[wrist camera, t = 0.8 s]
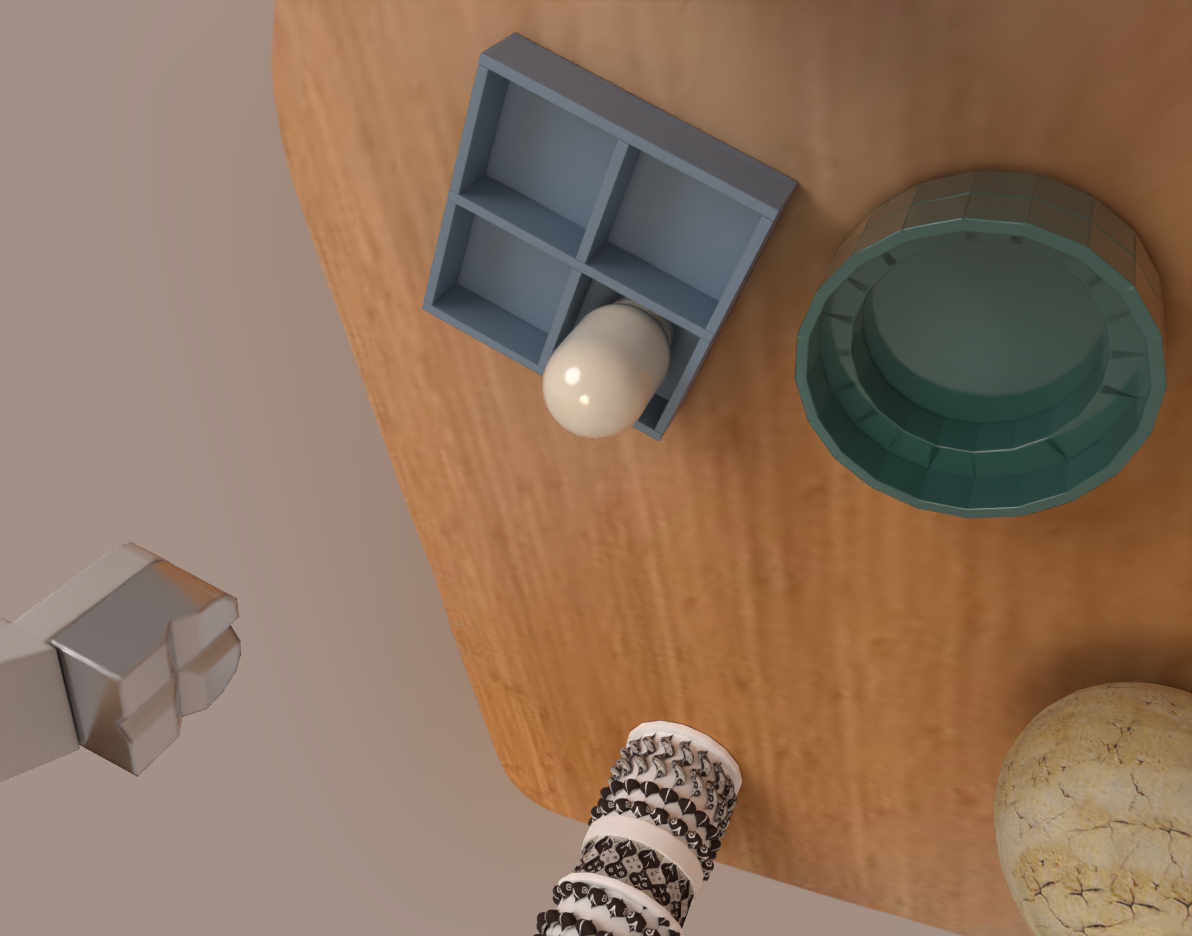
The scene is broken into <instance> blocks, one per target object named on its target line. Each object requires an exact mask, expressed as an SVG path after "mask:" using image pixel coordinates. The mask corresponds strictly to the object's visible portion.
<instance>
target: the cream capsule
mask: <svg viewBox="0 0 1192 936" xmlns="http://www.w3.org/2000/svg"><path fill="white" fill-rule="evenodd" d="M673 340H674V331H673V326H672V323H671V321H669V320H667V319H666V318H664V317H662V316H660V315H658V314H656V313H655V312H653V311H651V310H649V309H647V308H645V307H644V306H642V305H640V304H638V303H636V302H635V301H633V300H631V299H629V298H627V297H625V296H624V297H621V298H618V299H616V300H615V301H613V302H612V303H611V304H608V305H604V306H601V307H598V308H596V309H594V310H593V311H591V312H589V313H588V314H587V315H585V316H584V317H583V318H582V319H581V320H580V321H579V322H578V324H577V325H576V326H575V327H574V328H573V329H572V331H571V332H570V333H569V334H568V335H567V336H566V338H565V339H564V340H563V341H562V342H561V344H560V345H559V346H558V347H557V348H556V349H555V351H554V352H553V353H552V355H551V356H550V358H549V359H548V362H547V364H546V366H545V369H544V373H543V378H542V393H543V398H544V402H545V405H546V407H547V409H548V411H549V413H550V415H551V416H552V418H553V419H554V420H555V421H556V422H557V424H558V425H559V426H561V427H562V428H563V429H564V430H566V431H567V432H569V433H571V434H573V435H575V436H578V437H581V438H585V439H590V440H602V439H608V438H611V437H615V436H617V435H619V434H621V433H623V432H625V431H626V430H628V429H629V428H630V427H632V426H633V425H634V424H635V423H636V422H637V420H638V419H639V418H640V417H641V415H642V414H643V412H644V411H645V409H646V408H647V406H648V405H649V403H650V402H651V400H652V399H653V397H654V396H655V394H656V393H657V391H658V390H659V388H660V387H661V385H662V383H663V382H664V380H665V378H666V376H667V373H668V370H669V366H670V349H671V347H672V344H673Z"/></svg>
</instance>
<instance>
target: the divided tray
mask: <svg viewBox="0 0 1192 936" xmlns="http://www.w3.org/2000/svg"><path fill="white" fill-rule="evenodd" d="M797 184H798V182H797V181H795V180H793V179H791V178H789V177H787V176H785V175H783V174H781V173H780V172H778V171H776V170H774V169H772V168H770V167H768V166H766V165H764V164H762V163H761V162H759V161H757V160H755V159H753V158H751V157H749V156H747V155H745V154H744V153H742V152H740V151H738V150H736V149H734V148H732V147H730V146H728V145H727V144H725V143H723V142H721V141H719V140H717V139H715V138H713V137H711V136H710V135H708V134H706V133H704V132H702V131H700V130H698V129H696V128H694V127H692V126H691V125H689V124H687V123H685V122H683V121H681V120H679V119H677V118H675V117H674V116H672V115H670V114H668V113H666V112H664V111H662V110H660V109H658V108H657V107H655V106H653V105H651V104H649V103H647V102H645V101H643V100H641V99H639V98H638V97H636V96H634V95H632V94H630V93H628V92H626V91H624V90H622V89H621V88H619V87H617V86H615V85H613V84H611V83H609V82H607V81H605V80H604V79H602V78H600V77H598V76H596V75H594V74H592V73H590V72H588V71H586V70H585V69H583V68H581V67H579V66H577V65H575V64H573V63H571V62H569V61H568V60H566V59H564V58H562V57H560V56H558V55H556V54H554V53H552V52H551V51H549V50H547V49H545V48H543V47H541V46H539V45H537V44H535V43H534V42H532V41H530V40H528V39H526V38H524V37H522V36H520V35H518V34H516V33H513V34H512V35H510V36H508V37H507V38H505V39H503V40H502V41H500V42H498V43H497V44H495V45H493V46H492V47H490V48H488V49H487V50H485V51H483V52H481V55H480V59H479V65H478V68H477V72H476V77H475V81H474V85H473V90H472V94H471V98H470V103H469V107H468V111H467V116H466V120H465V125H464V129H463V133H462V138H461V142H460V146H459V151H458V155H457V159H456V164H455V168H454V172H453V177H452V181H451V185H450V190H449V194H448V200H447V203H446V207H445V211H444V216H443V220H442V224H441V229H440V233H439V237H438V242H437V246H436V251H435V255H434V259H433V264H432V268H431V272H430V277H429V281H428V285H427V290H426V294H425V298H424V303H423V307H422V309H423V310H425V311H427V312H429V313H430V314H432V315H434V316H436V317H438V318H439V319H441V320H443V321H445V322H447V323H448V324H450V325H452V326H454V327H456V328H457V329H459V330H461V331H463V332H464V333H466V334H468V335H470V336H472V337H473V338H475V339H477V340H479V341H481V342H482V343H484V344H486V345H488V346H489V347H491V348H493V349H495V350H497V351H498V352H500V353H502V354H504V355H506V356H507V357H509V358H511V359H513V360H514V361H516V362H518V363H520V364H522V365H523V366H525V367H527V368H529V369H531V370H532V371H534V372H536V373H538V374H540V375H541V376H543V373H544V369H545V366H546V364H547V362H548V359H549V358H550V356H551V355H552V353H553V352H554V351H555V349H556V348H557V347H558V346H559V345H560V344H561V342H562V341H563V340H564V339H565V338H566V336H567V335H568V334H569V333H570V332H571V331H572V329H573V328H574V327H575V326H576V325H577V324H578V322H579V321H580V320H581V319H582V318H583V317H584V316H585V315H587V314H588V313H589V312H591V311H593V310H594V309H596V308H598V307H601V306H604V305H608V304H611V303H612V302H613V301H615V300H616V299H618V298H621V297H624V296H625V297H627V298H629V299H631V300H633V301H635V302H636V303H638V304H640V305H642V306H644V307H645V308H647V309H649V310H651V311H653V312H655V313H656V314H658V315H660V316H662V317H664V318H666V319H667V320H669V321H671V323H672V326H673V331H674V340H673V344H672V347H671V349H670V366H669V370H668V373H667V376H666V378H665V380H664V382H663V383H662V385H661V387H660V388H659V390H658V391H657V393H656V394H655V396H654V397H653V399H652V400H651V402H650V403H649V405H648V406H647V408H646V409H645V411H644V412H643V414H642V415H641V417H640V418H639V419H638V420H637V422H636V423H635V424H634V425H633V426H632V427H634V428H636V429H638V430H640V431H641V432H643V433H645V434H647V435H649V436H650V437H652V438H654V439H656V440H657V441H660V440H661V438H662V436H663V435H664V433H665V432H666V430H667V428H668V427H669V425H670V424H671V422H672V420H673V419H674V417H675V415H676V414H677V412H678V411H679V409H680V407H681V405H682V403H683V401H684V400H685V398H686V396H687V394H688V392H689V390H690V388H691V386H692V384H693V382H694V380H695V379H696V377H697V375H698V373H699V371H700V369H701V367H702V365H703V363H704V361H705V359H706V358H707V356H708V354H709V352H710V350H711V348H712V346H713V344H714V342H715V340H716V338H717V337H718V335H719V333H720V331H721V329H722V327H723V325H724V323H725V321H726V319H727V317H728V316H729V314H730V312H731V310H732V308H733V306H734V304H735V302H736V300H737V298H738V296H739V295H740V293H741V291H742V289H743V287H744V285H745V283H746V281H747V279H748V277H749V275H750V274H751V272H752V270H753V268H754V266H755V264H756V262H757V260H758V258H759V256H760V254H761V253H762V251H763V249H764V247H765V245H766V243H767V241H768V239H769V237H770V235H771V233H772V232H773V230H774V228H775V226H776V224H777V222H778V220H779V218H780V216H781V214H782V212H783V211H784V209H785V207H786V205H787V203H788V201H789V199H790V197H791V195H792V193H793V191H794V190H795V188H796V186H797Z"/></svg>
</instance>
